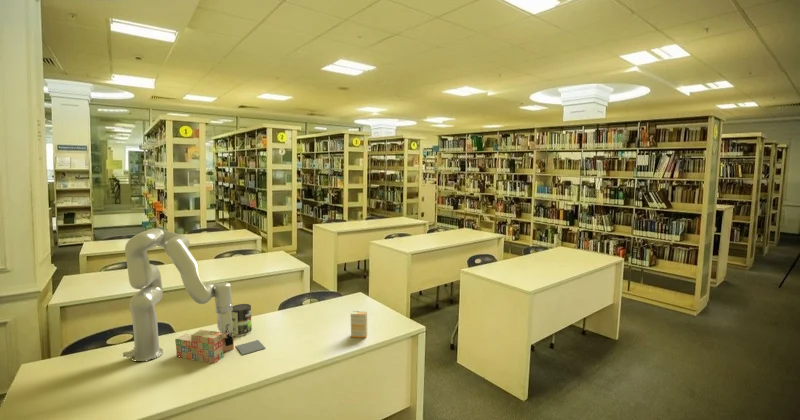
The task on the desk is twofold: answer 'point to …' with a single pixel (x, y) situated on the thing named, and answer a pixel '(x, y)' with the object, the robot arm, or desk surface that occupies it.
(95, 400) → the desk surface
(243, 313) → the coffee can
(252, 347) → the mat
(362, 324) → the supplement box
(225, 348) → the tan cardboard-coloured cube
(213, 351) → the stack of blocks
